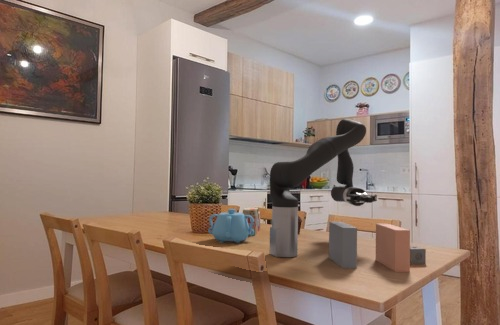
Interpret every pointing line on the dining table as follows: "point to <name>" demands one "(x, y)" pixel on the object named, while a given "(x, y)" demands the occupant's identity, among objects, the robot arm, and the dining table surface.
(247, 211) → the stack of blocks
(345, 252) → the slate slab
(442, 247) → the dining table surface
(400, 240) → the terracotta slab
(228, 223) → the decorative pot
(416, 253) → the dice cube
